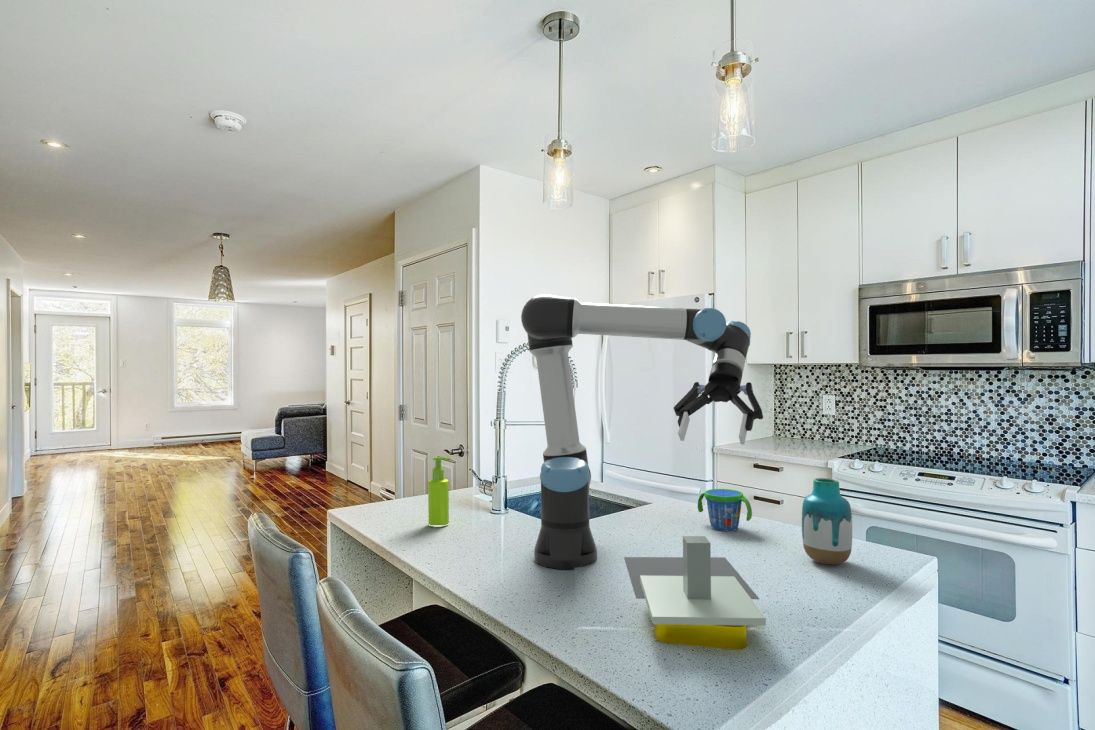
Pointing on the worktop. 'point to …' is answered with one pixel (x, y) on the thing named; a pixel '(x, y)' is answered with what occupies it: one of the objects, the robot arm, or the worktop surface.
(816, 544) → the vase
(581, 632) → the worktop surface
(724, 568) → the rubber mat
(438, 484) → the soap dispenser
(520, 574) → the worktop surface
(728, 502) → the snack cup
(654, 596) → the sage lid
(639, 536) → the worktop surface
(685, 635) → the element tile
